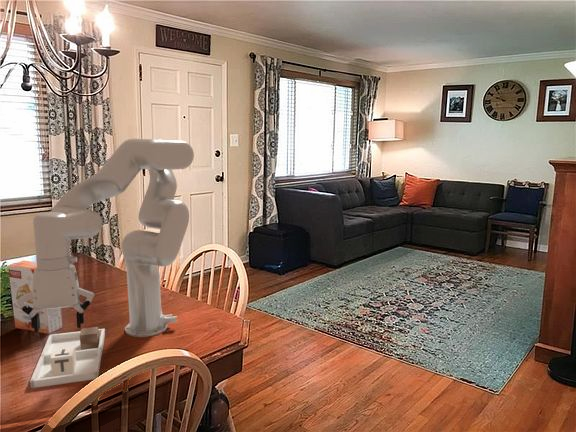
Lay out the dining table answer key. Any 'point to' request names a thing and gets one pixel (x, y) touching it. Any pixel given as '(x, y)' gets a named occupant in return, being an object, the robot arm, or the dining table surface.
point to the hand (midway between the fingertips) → (58, 328)
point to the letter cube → (63, 361)
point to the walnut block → (89, 338)
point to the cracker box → (22, 286)
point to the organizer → (85, 360)
